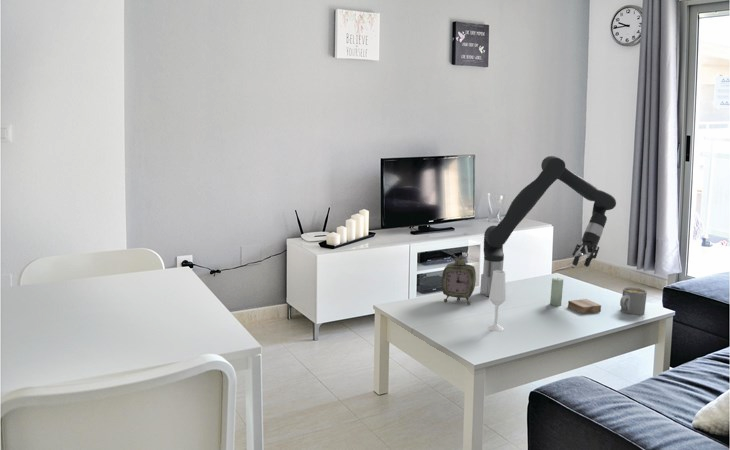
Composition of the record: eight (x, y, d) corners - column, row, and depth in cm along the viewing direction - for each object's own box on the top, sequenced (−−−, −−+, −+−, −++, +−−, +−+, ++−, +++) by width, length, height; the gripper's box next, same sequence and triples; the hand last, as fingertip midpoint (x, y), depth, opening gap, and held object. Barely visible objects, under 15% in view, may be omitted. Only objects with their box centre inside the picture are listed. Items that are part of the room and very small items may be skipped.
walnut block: (582, 313, 295) (583, 307, 295) (567, 307, 304) (568, 300, 304) (600, 311, 299) (601, 305, 298) (585, 305, 308) (586, 298, 307)
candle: (554, 306, 304) (556, 279, 302) (547, 303, 309) (550, 276, 307) (563, 305, 306) (565, 278, 304) (556, 302, 311) (558, 276, 308)
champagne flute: (507, 329, 273) (511, 272, 268) (495, 332, 269) (499, 274, 264) (495, 324, 278) (498, 268, 274) (483, 327, 274) (487, 271, 270)
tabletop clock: (440, 303, 305) (443, 250, 300) (444, 297, 314) (446, 245, 309) (472, 306, 301) (475, 253, 296) (474, 301, 310) (478, 248, 305)
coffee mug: (633, 307, 307) (635, 286, 305) (649, 313, 298) (651, 292, 296) (609, 309, 302) (612, 288, 301) (625, 316, 293) (627, 294, 291)
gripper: (577, 230, 318) (564, 261, 315) (596, 230, 304) (583, 262, 302) (588, 237, 320) (576, 268, 317) (608, 238, 306) (596, 269, 304)
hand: (580, 265), depth 309 cm, fingers open, 8 cm apart
